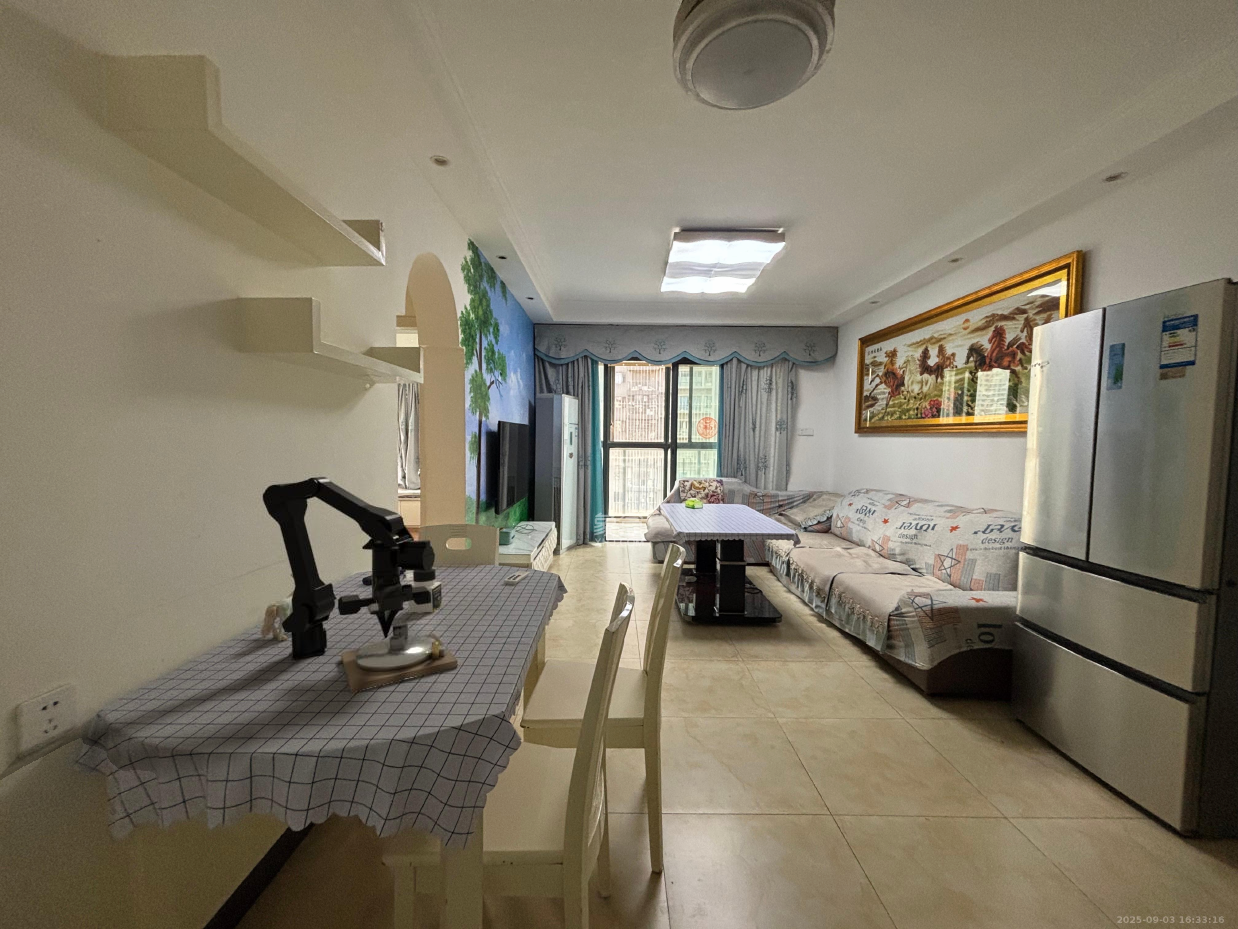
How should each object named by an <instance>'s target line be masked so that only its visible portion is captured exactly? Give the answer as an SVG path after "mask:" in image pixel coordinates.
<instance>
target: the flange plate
mask: <svg viewBox="0 0 1238 929" xmlns="http://www.w3.org/2000/svg"><path fill="white" fill-rule="evenodd" d="M396 635H404V636H405V648H404V649H401V650H397V651H391V650H390V640H389V638H390V637H387V638H384V639H380V640H377V641H374V642H372V643H370V644H368V645H364V646H363V647H362V649H361V648H359V649H360V650H359V651H358V652H357V654H356V664H357V666H358V667H359V668H361V669H364V670H369V671H389V670H397V669H402V668H407V667H410V666H414V665H417V664H419V663H422V662H424V661H426V660H428V659H430V658H431V657H432V642H436V640H435V639H433V638H431V637H427V636H424V635H419V634H418V635H416V634H415V635H413V634H411V635H409V625H408V623H407V622H399V623H395V624H393V625H392V636H396ZM448 650H449V649H448V645H445V646H439V656H445V655H446V654H447V653H448Z"/></svg>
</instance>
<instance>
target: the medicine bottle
mask: <svg viewBox="0 0 1238 929" xmlns="http://www.w3.org/2000/svg"><path fill="white" fill-rule="evenodd" d="M412 575H413V585H412V588H414V587H422V586H425V587H426V588H427V589H428V590H429V591H430V592H431V603H429V604H422V605H417V604H416V603H415V602H414V600H412V601H408V604H407V605H408V613H409V612H433V613H435V612H436V611H437V610H438V609H439V608H441V607H442V606H443V601H442V600H443V598H442V597H443V596H442V582H441V581H437V578H436V577H437V576H436V575H437V574H436V569H435V568H434V567H432V569H431V570H430V571H412ZM441 605H442V606H441ZM437 608H438V609H437ZM436 609H437V610H436ZM435 610H436V611H435ZM434 611H435V612H434Z"/></svg>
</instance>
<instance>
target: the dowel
mask: <svg viewBox="0 0 1238 929" xmlns="http://www.w3.org/2000/svg"><path fill="white" fill-rule="evenodd" d="M438 659H439V642H432V660H438Z"/></svg>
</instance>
